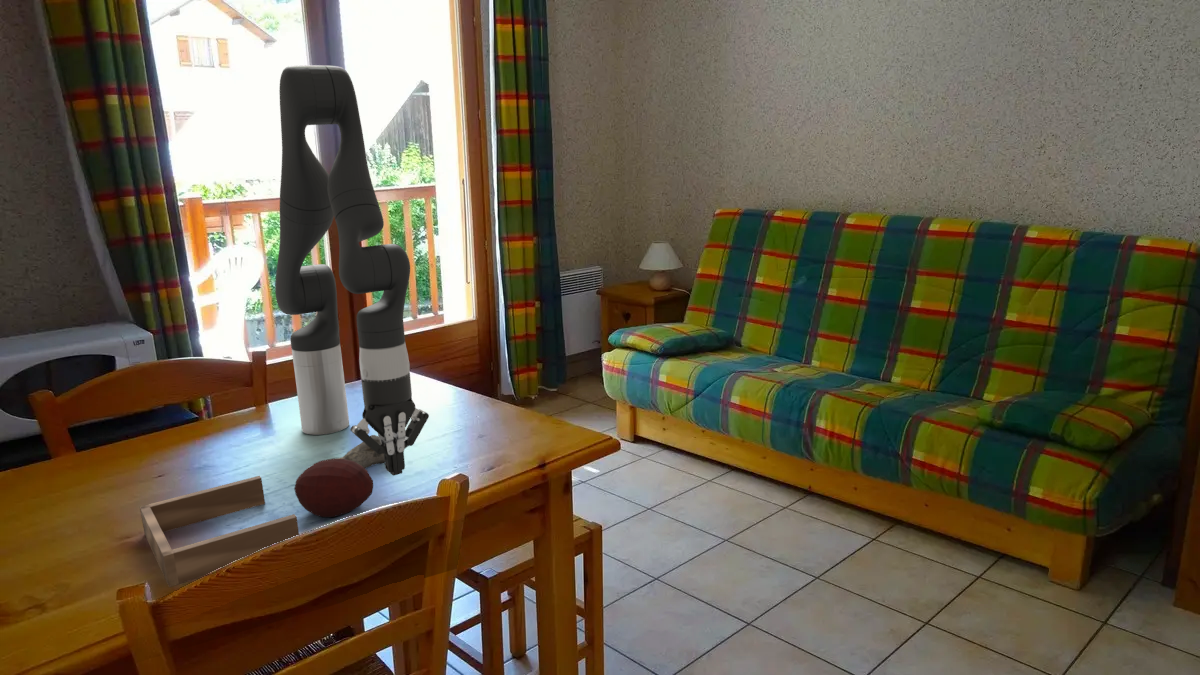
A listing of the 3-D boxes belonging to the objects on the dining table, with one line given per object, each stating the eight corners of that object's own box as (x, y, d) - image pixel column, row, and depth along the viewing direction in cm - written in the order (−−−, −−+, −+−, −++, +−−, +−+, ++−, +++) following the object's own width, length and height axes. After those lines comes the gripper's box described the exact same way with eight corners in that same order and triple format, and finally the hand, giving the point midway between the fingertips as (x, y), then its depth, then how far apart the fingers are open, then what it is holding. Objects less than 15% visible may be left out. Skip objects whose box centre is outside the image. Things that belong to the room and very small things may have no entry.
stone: (335, 483, 141) (363, 457, 138) (322, 457, 143) (350, 431, 140) (376, 477, 150) (403, 452, 147) (363, 452, 151) (390, 427, 149)
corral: (144, 534, 123) (139, 506, 121) (263, 501, 133) (259, 475, 131) (169, 587, 107) (163, 556, 106) (300, 545, 117) (296, 516, 116)
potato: (293, 505, 131) (286, 457, 129) (363, 489, 136) (358, 442, 134) (306, 534, 121) (299, 482, 119) (381, 515, 126) (376, 465, 124)
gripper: (413, 359, 136) (422, 456, 140) (335, 374, 128) (347, 477, 132) (434, 368, 130) (442, 469, 134) (353, 385, 122) (365, 492, 126)
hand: (395, 473), depth 133 cm, fingers closed
